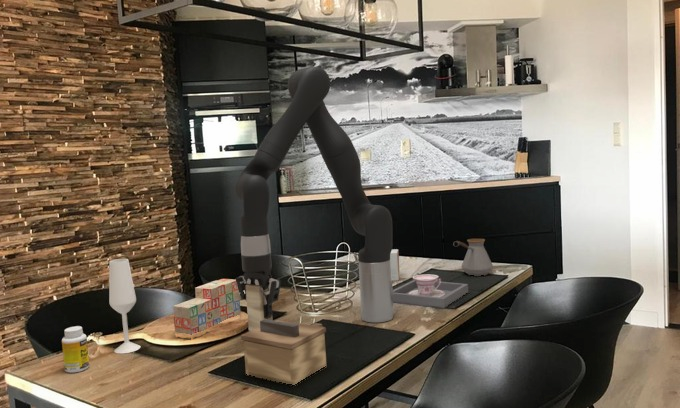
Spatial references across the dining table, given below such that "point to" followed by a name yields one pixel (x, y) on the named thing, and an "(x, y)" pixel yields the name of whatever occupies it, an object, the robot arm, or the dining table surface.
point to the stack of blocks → (208, 307)
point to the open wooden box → (285, 360)
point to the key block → (255, 306)
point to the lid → (283, 333)
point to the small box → (394, 265)
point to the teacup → (427, 286)
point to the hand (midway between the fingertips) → (260, 316)
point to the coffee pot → (476, 258)
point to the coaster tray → (451, 295)
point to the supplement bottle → (75, 350)
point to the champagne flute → (122, 297)
